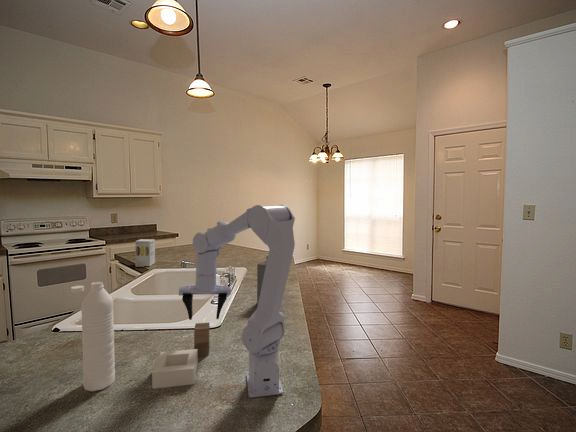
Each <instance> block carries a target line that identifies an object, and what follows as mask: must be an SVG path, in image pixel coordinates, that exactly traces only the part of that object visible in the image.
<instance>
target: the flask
mask: <svg viewBox="0 0 576 432" xmlns="http://www.w3.org/2000/svg"><path fill="white" fill-rule="evenodd" d="M265 259H266V260H265V261H262V262H258V263H257V265H256V266H257V268H256V271H257V273H256V276H257V277H256V282H257V283H256V284H257V285H256V304H257V305H258V302H259V297H260V292H261V287H262V283H263V278H264V273H265V268H266V264H267V259H268V255H267V256H266V258H265Z"/></svg>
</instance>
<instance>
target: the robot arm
mask: <svg viewBox="0 0 576 432" xmlns="http://www.w3.org/2000/svg"><path fill="white" fill-rule="evenodd" d="M295 220H296V217H295V216H294V214H293V213H292V210H291V209H290V208H289V207H288V206H287V205H284V204H278V205H261V204H256V205H254V206H252V207H250V208H247V209H246V211H245V212H244V213H242V214H241V215H239V216H237V217H236V218H235V219H233V220H232V221H230V222H227V221H224V220H223V221H222V220H220V221H217V222H216V225H215V226H213V227H209V228H207V231H205V232H196V234H194V236H193V238H192V246H193V247H192V248H193V249H194V251H195V252H196V262H195V263H196V264H195V267H196V268H195V284H194V285H187V286H179V289H178V296H182V298H181V299H182V302H183V304H184V305H185V306H184V307H185V309H186V311H187V314H188V320H190V321H191V320H192V319H193V314H194V313H193V299H194V295H217V307H216V308H217V309H216V320H219V318H220V314H221V311H222V309H223V306H224V304H225V303H226V300H227V299H228V298H227V297H228V296H231V295H232V294H231V293H232V291H231V290H232V286H224V285H217V269H218V268H217V267H218V266H217V265H218V258H219V256H220V250H221V249H222V247H223V246H225V245H228V244H229V243H232V242H233V241H234V240H235V239H236V235H237V234H239V233H241V232H244V231H246V230H248V229H251V230H252V231H253V232H254V234H255V235H256V236H257V237H258V238H259V239H260V240H261V241H262V242H263V244H264V245H266V246H267V247H268V249H269V251H268V255H267V256H268V259H267V260H266V261H267V264H266V268H265V273H264V278H263V283H262V287H261V292H260V297H259V302H258V304H257V307H256V310H255V311H254V312H253V313H252V315H251V316H249V318H248V320H247V325H245V327H244V328H243V330H242V333H241V339H242V343H243V346H244V347H245V348H246V351H248V371H247V372H246V373H245V374H246V382H247V391H248V393H247V394H248V397H249V398H250V399H251V398H258V397H260V398H261V397H267V396H275V395H283V394H284V390H283V386H282V382H281V379H280V366H279V345H280V344H281V339H283V337H284V336H285V333H286V331H285V319H286V316H285V315H284V314H283V313H282V312H281V307H282V303H283V299H284V294H285V291H286V285H287V281H288V277H289V272H290V268H291V263H292V261H293V260H292V259H293V255H294V251H295V247H296V246H295V245H296V243H295V235H294V224H295Z"/></svg>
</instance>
